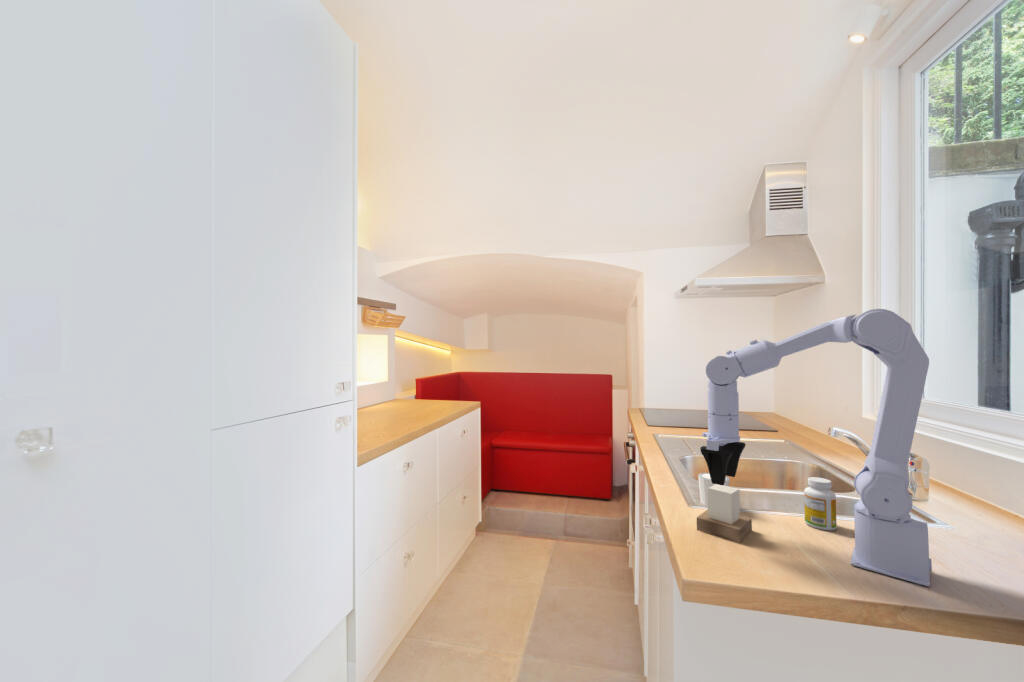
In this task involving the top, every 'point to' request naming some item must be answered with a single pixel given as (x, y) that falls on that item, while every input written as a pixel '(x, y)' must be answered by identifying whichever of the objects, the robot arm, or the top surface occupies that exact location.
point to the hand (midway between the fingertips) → (723, 479)
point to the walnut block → (725, 527)
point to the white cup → (707, 486)
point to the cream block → (723, 503)
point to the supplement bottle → (820, 504)
